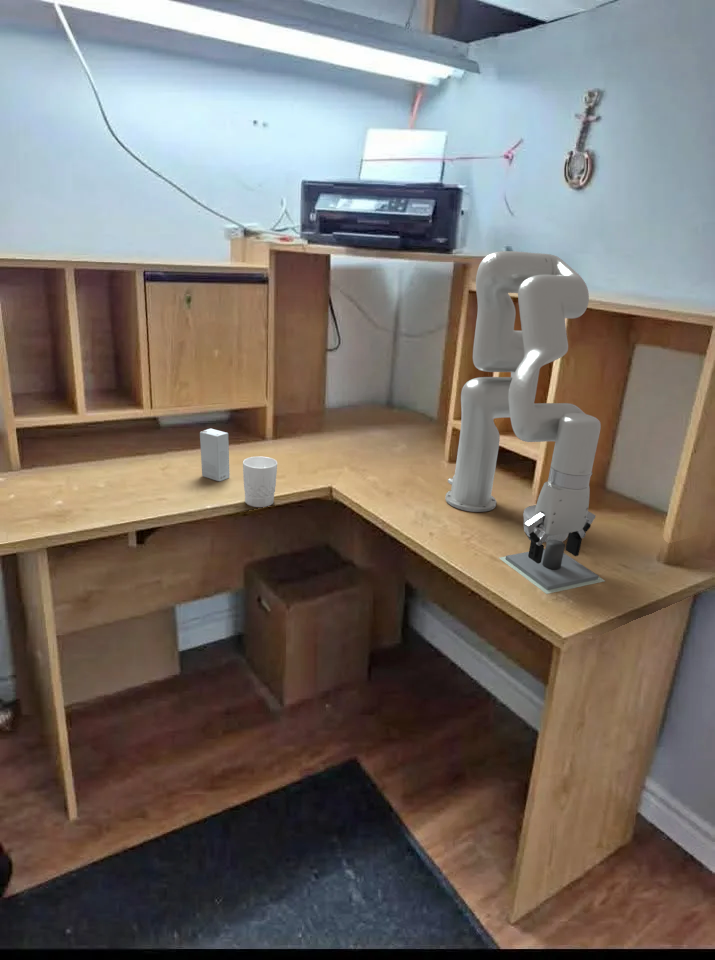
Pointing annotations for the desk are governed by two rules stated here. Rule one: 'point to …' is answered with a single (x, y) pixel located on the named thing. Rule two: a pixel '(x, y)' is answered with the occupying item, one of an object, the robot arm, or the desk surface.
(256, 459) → the white cup
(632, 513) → the desk surface
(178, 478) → the desk surface
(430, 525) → the desk surface
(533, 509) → the ramekin
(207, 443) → the skincare box
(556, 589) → the mat
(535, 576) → the lid
